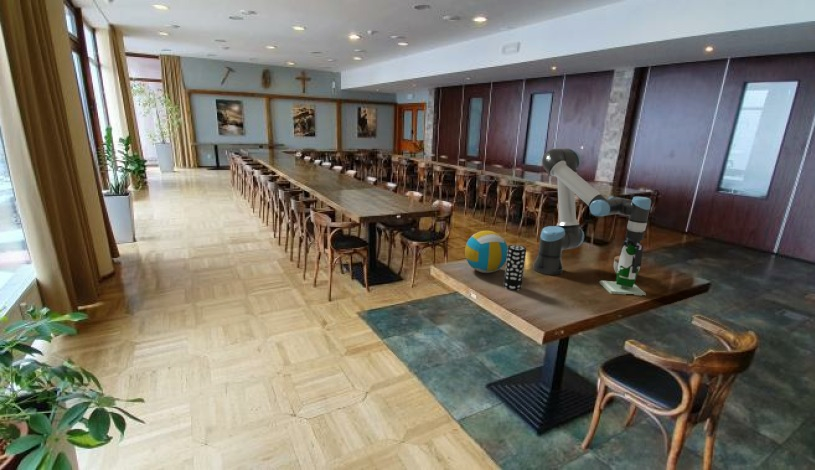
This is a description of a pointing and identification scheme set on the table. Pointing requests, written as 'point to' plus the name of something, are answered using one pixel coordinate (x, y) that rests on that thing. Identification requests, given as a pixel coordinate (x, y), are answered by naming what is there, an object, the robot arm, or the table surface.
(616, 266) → the lidded bowl
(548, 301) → the table surface
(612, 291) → the board
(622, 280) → the soya milk
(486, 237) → the volleyball
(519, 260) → the spotted tube
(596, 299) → the table surface
